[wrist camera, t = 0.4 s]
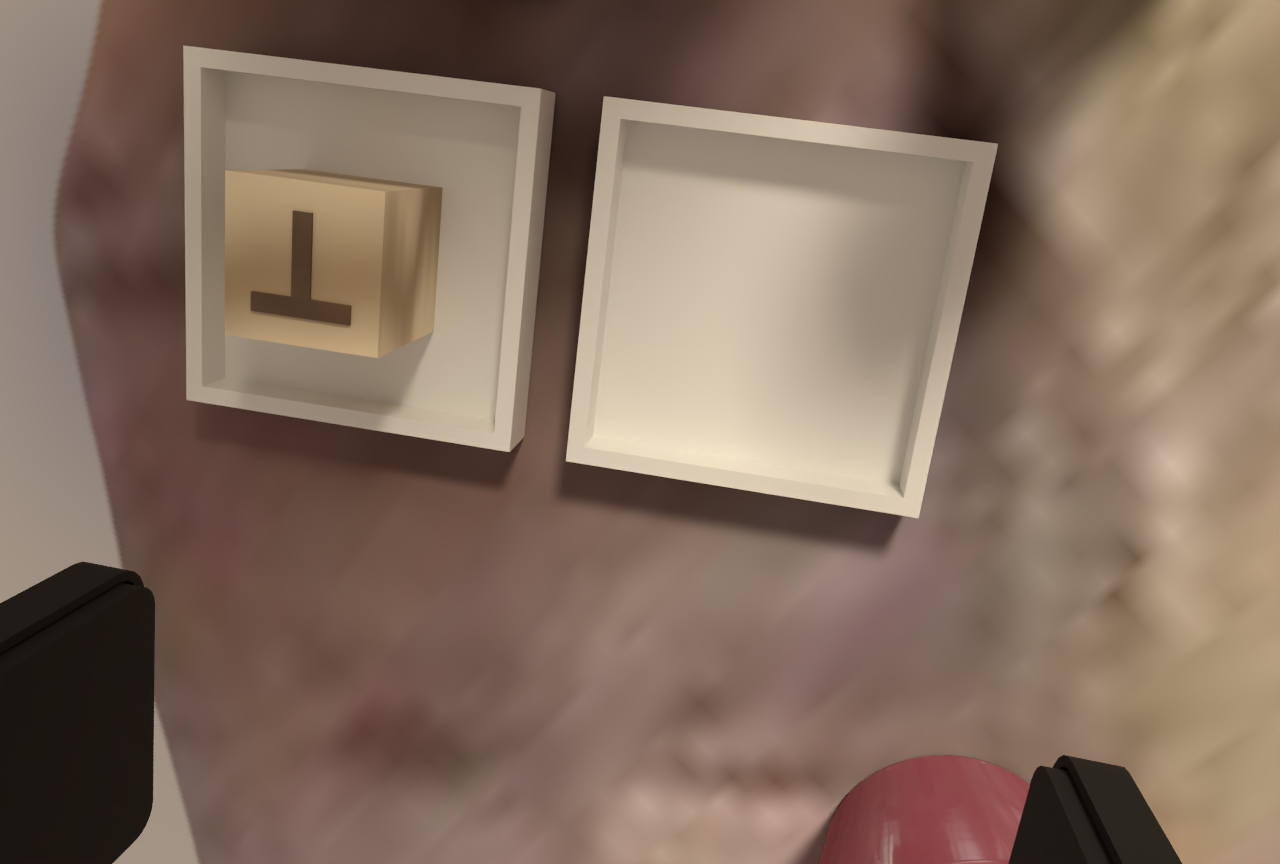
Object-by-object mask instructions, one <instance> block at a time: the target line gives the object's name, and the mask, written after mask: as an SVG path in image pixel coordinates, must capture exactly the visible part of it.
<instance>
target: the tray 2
mask: <svg viewBox="0 0 1280 864" xmlns="http://www.w3.org/2000/svg"><path fill="white" fill-rule="evenodd" d="M997 147H998V144H997V143H988V142H980V141H972V140H963V139H955V138H947V137H939V136H930V135H922V134H914V133H905V132H897V131H889V130H880V129H872V128H864V127H856V126H847V125H839V124H831V123H822V122H814V121H806V120H797V119H789V118H781V117H773V116H764V115H756V114H748V113H739V112H731V111H723V110H714V109H706V108H698V107H690V106H681V105H673V104H665V103H656V102H648V101H640V100H631V99H623V98H615V97H606V96H604V99H603V109H602V118H601V128H600V137H599V147H598V157H597V166H596V176H595V185H594V195H593V205H592V214H591V224H590V233H589V243H588V253H587V262H586V272H585V281H584V291H583V301H582V310H581V320H580V329H579V339H578V349H577V358H576V368H575V377H574V387H573V397H572V406H571V416H570V425H569V435H568V445H567V454H566V461H568V462H574V463H580V464H586V465H592V466H599V467H605V468H611V469H617V470H623V471H630V472H636V473H642V474H648V475H654V476H661V477H667V478H673V479H679V480H685V481H691V482H698V483H704V484H710V485H716V486H722V487H729V488H735V489H741V490H747V491H753V492H760V493H766V494H772V495H778V496H784V497H791V498H797V499H803V500H809V501H815V502H821V503H828V504H834V505H840V506H846V507H852V508H859V509H865V510H871V511H877V512H883V513H890V514H896V515H902V516H908V517H914V518H919V513H920V509H921V504H922V499H923V495H924V490H925V485H926V480H927V476H928V471H929V466H930V462H931V457H932V452H933V448H934V443H935V438H936V434H937V429H938V424H939V419H940V415H941V410H942V405H943V401H944V396H945V391H946V387H947V382H948V377H949V373H950V368H951V363H952V358H953V354H954V349H955V344H956V340H957V335H958V330H959V326H960V321H961V316H962V311H963V307H964V302H965V297H966V293H967V288H968V283H969V279H970V274H971V269H972V265H973V260H974V255H975V250H976V246H977V241H978V236H979V232H980V227H981V222H982V218H983V213H984V208H985V204H986V199H987V194H988V189H989V185H990V180H991V175H992V171H993V166H994V161H995V157H996V152H997Z"/></svg>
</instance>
